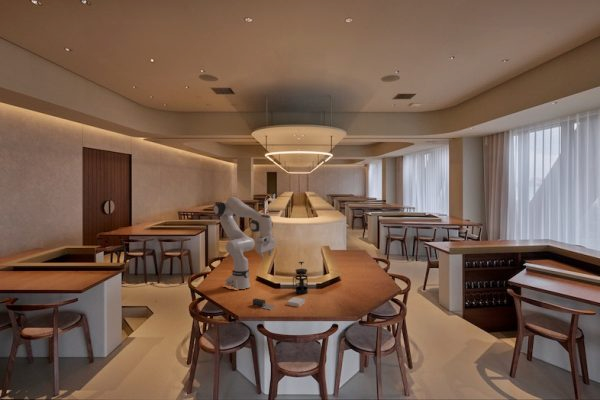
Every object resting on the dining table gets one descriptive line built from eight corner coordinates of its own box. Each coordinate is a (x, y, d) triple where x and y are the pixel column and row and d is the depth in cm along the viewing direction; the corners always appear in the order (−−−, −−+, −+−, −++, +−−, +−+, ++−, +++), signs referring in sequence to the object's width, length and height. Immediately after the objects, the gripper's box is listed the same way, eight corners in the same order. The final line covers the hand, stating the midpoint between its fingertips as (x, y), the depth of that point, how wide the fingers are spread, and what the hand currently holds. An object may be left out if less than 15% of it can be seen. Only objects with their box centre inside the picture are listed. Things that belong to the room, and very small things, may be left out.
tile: (287, 301, 208) (299, 303, 204) (293, 297, 216) (305, 299, 212) (287, 305, 208) (299, 307, 204) (293, 300, 216) (305, 302, 212)
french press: (307, 290, 238) (307, 260, 237) (309, 294, 228) (309, 263, 227) (292, 291, 236) (291, 261, 235) (294, 295, 226) (293, 264, 226)
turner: (251, 306, 206) (251, 300, 206) (256, 303, 211) (256, 297, 211) (270, 310, 199) (270, 304, 199) (275, 306, 205) (275, 300, 205)
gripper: (269, 235, 232) (270, 253, 232) (254, 239, 214) (254, 259, 214) (277, 235, 229) (277, 254, 230) (261, 240, 211) (262, 260, 211)
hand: (266, 257), depth 222 cm, fingers open, 8 cm apart
